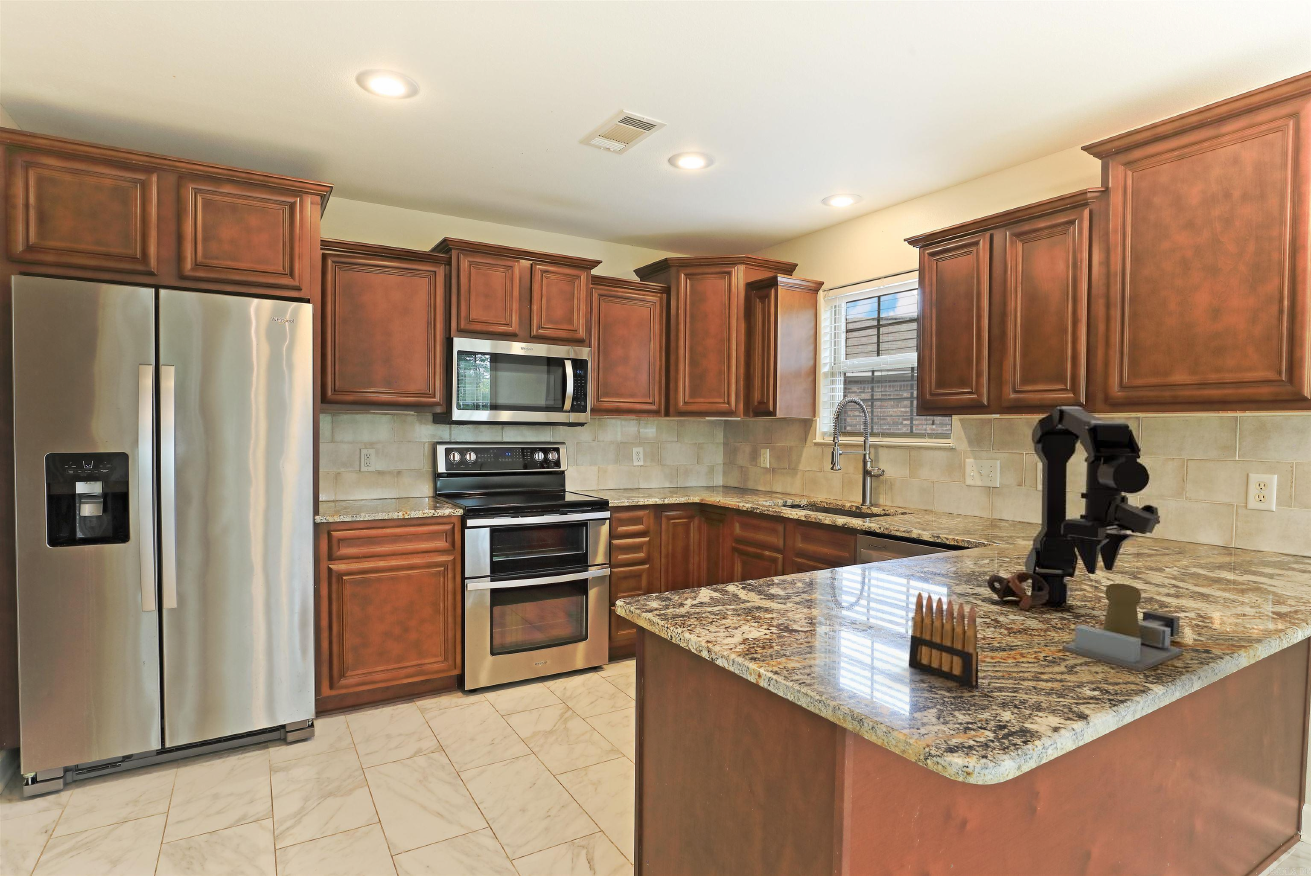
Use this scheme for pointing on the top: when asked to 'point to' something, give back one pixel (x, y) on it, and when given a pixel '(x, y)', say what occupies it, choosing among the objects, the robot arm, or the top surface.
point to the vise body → (1118, 649)
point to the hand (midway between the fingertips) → (1100, 572)
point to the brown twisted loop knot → (1019, 588)
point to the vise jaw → (1158, 628)
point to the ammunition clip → (945, 642)
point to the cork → (1122, 610)
